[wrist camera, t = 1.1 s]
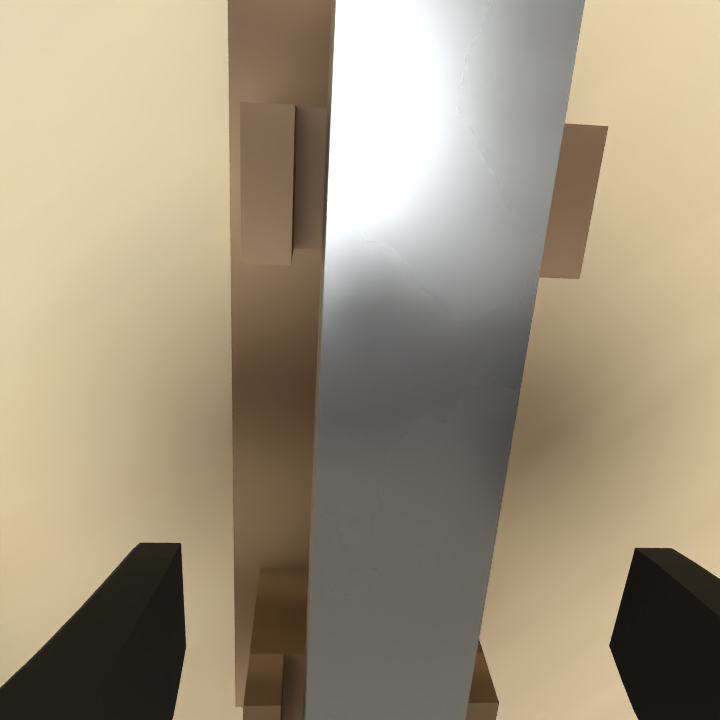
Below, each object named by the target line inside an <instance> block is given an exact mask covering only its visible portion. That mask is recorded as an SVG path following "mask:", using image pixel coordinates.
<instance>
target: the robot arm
mask: <svg viewBox="0 0 720 720" xmlns="http://www.w3.org/2000/svg"><path fill="white" fill-rule="evenodd" d="M609 646H610V649H611V652H612V655H613V657H614V660H615V663H616V666H617V668H618V671H619V674H620V677H621V680H622V682H623V685H624V687H625V690H626V692H627V695H628V697H629V700H630V702H631V705H632V707H633V710H634V712H635V714H636V716H637V718H638V720H720V579H719V578H717V577H716V576H714V575H713V574H711V573H710V572H709V571H707V570H706V569H704V568H702V567H701V566H699V565H698V564H696V563H695V562H693V561H692V560H690V559H689V558H687V557H685V556H684V555H682V554H680V553H679V552H677V551H675V550H674V549H672V548H635V551H634V555H633V558H632V562H631V566H630V570H629V573H628V577H627V581H626V585H625V588H624V592H623V596H622V600H621V604H620V607H619V611H618V615H617V619H616V622H615V626H614V630H613V634H612V637H611V641H610V645H609ZM185 650H186V637H185V616H184V595H183V574H182V553H181V543H139V544H138V545H137V546H136V547H135V548H134V549H133V550H132V551H131V552H130V553H129V554H128V555H127V556H126V557H125V559H124V560H123V561H122V562H121V563H120V564H119V565H118V567H117V568H116V569H115V570H114V571H113V572H112V573H111V574H110V576H109V577H108V578H107V579H106V580H105V581H104V582H103V583H102V585H101V586H100V587H99V588H98V589H97V590H96V591H95V592H94V593H93V594H92V596H91V597H90V598H89V599H88V600H87V601H86V602H85V603H84V604H83V605H82V606H81V608H80V609H79V610H78V611H77V612H76V613H75V614H74V615H73V616H72V617H71V618H70V619H69V620H68V621H67V622H66V623H65V624H64V625H63V626H62V627H61V628H60V629H59V630H58V632H57V633H56V634H55V635H54V636H53V637H52V638H51V639H50V640H49V641H48V642H47V643H46V644H45V645H44V646H43V647H42V648H41V649H40V650H39V651H38V652H37V653H36V654H35V655H34V656H33V657H32V658H31V659H30V660H29V661H28V662H27V663H26V664H25V665H24V666H23V667H22V668H20V669H19V670H18V671H17V672H16V673H15V674H14V675H13V676H12V677H11V678H10V679H9V680H8V681H7V682H6V683H5V684H4V685H3V686H2V687H0V720H172V719H173V715H174V710H175V705H176V700H177V694H178V689H179V684H180V678H181V672H182V667H183V661H184V655H185Z"/></svg>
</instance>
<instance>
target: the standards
mask: <svg viewBox="0 0 720 720" xmlns="http://www.w3.org/2000/svg"><path fill="white" fill-rule="evenodd" d="M330 23H331V0H228V46H229V138H230V229H231V320H232V412H233V503H234V595H235V686H236V707H243V720H302V717H303V692H304V667H305V642H306V617H307V593H308V568H309V543H310V518H311V494H312V469H313V444H314V419H315V394H316V370H317V345H318V320H319V295H320V271H321V246H322V221H323V196H324V171H325V147H326V122H327V97H328V72H329V48H330ZM607 130H608V126H594V125H579V124H564V129H563V135H562V141H561V147H560V153H559V159H558V165H557V171H556V177H555V183H554V189H553V195H552V201H551V207H550V213H549V219H548V225H547V232H546V238H545V244H544V250H543V256H542V262H541V268H540V274H539V277H548V278H569V279H579V278H580V273H581V267H582V262H583V257H584V252H585V246H586V241H587V236H588V230H589V225H590V220H591V215H592V209H593V204H594V199H595V194H596V188H597V183H598V178H599V172H600V167H601V162H602V157H603V151H604V146H605V141H606V135H607ZM498 705H499V701H498V698H497V695H496V692H495V689H494V685H493V682H492V679H491V676H490V673H489V670H488V666H487V663H486V660H485V657H484V654H483V650H482V647H481V644H480V641H478V647H477V653H476V659H475V665H474V671H473V677H472V683H471V689H470V695H469V701H468V707H467V713H466V719H465V720H496V716H497V711H498Z"/></svg>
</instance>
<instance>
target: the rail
mask: <svg viewBox="0 0 720 720" xmlns="http://www.w3.org/2000/svg"><path fill="white" fill-rule="evenodd" d="M584 3H585V0H331V23H330V48H329V72H328V97H327V122H326V147H325V171H324V196H323V221H322V246H321V271H320V295H319V320H318V345H317V370H316V394H315V419H314V444H313V469H312V494H311V518H310V543H309V568H308V593H307V617H306V642H305V667H304V692H303V717H302V720H465V719H466V713H467V707H468V701H469V695H470V689H471V683H472V677H473V671H474V665H475V659H476V653H477V647H478V641H479V635H480V629H481V623H482V617H483V611H484V605H485V599H486V593H487V587H488V581H489V575H490V569H491V563H492V557H493V551H494V545H495V539H496V533H497V527H498V520H499V514H500V508H501V502H502V496H503V490H504V484H505V478H506V472H507V466H508V460H509V454H510V448H511V442H512V436H513V430H514V424H515V418H516V412H517V406H518V400H519V394H520V388H521V382H522V376H523V370H524V364H525V358H526V352H527V346H528V340H529V334H530V328H531V322H532V316H533V310H534V304H535V298H536V292H537V286H538V280H539V274H540V268H541V262H542V256H543V250H544V244H545V238H546V232H547V225H548V219H549V213H550V207H551V201H552V195H553V189H554V183H555V177H556V171H557V165H558V159H559V153H560V147H561V141H562V135H563V129H564V123H565V117H566V111H567V105H568V99H569V93H570V87H571V81H572V75H573V69H574V63H575V57H576V51H577V45H578V39H579V33H580V27H581V21H582V15H583V9H584Z"/></svg>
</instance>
